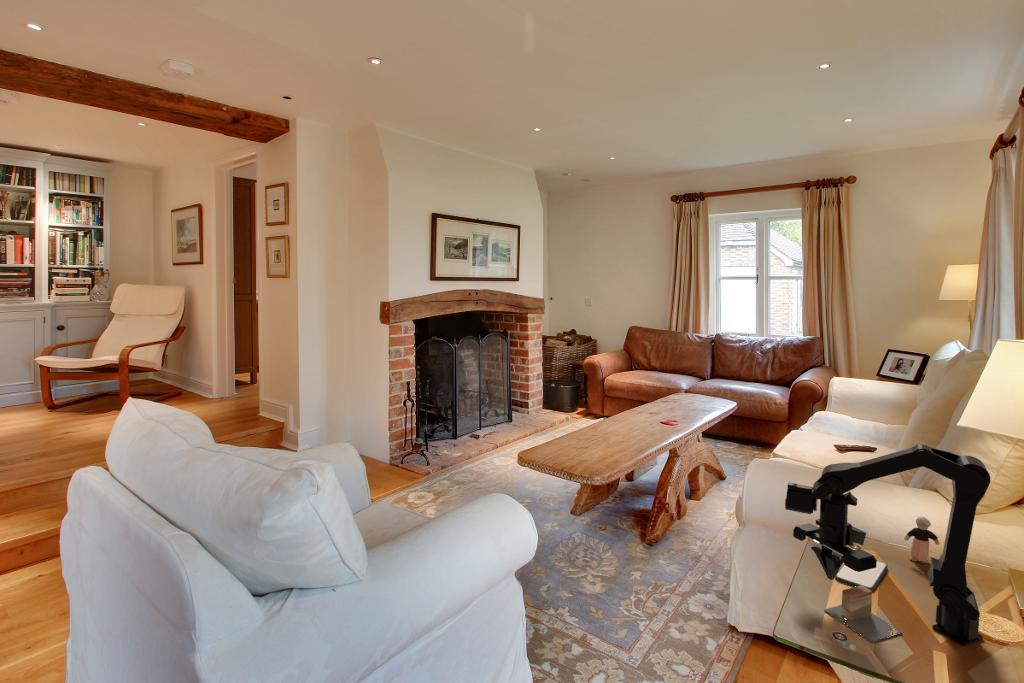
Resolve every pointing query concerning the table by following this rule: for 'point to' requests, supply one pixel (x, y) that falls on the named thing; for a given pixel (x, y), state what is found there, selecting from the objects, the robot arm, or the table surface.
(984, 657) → the table surface
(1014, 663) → the table surface
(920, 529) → the grandmother figurine
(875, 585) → the phone case
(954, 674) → the table surface
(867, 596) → the birch block
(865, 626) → the felt mat
